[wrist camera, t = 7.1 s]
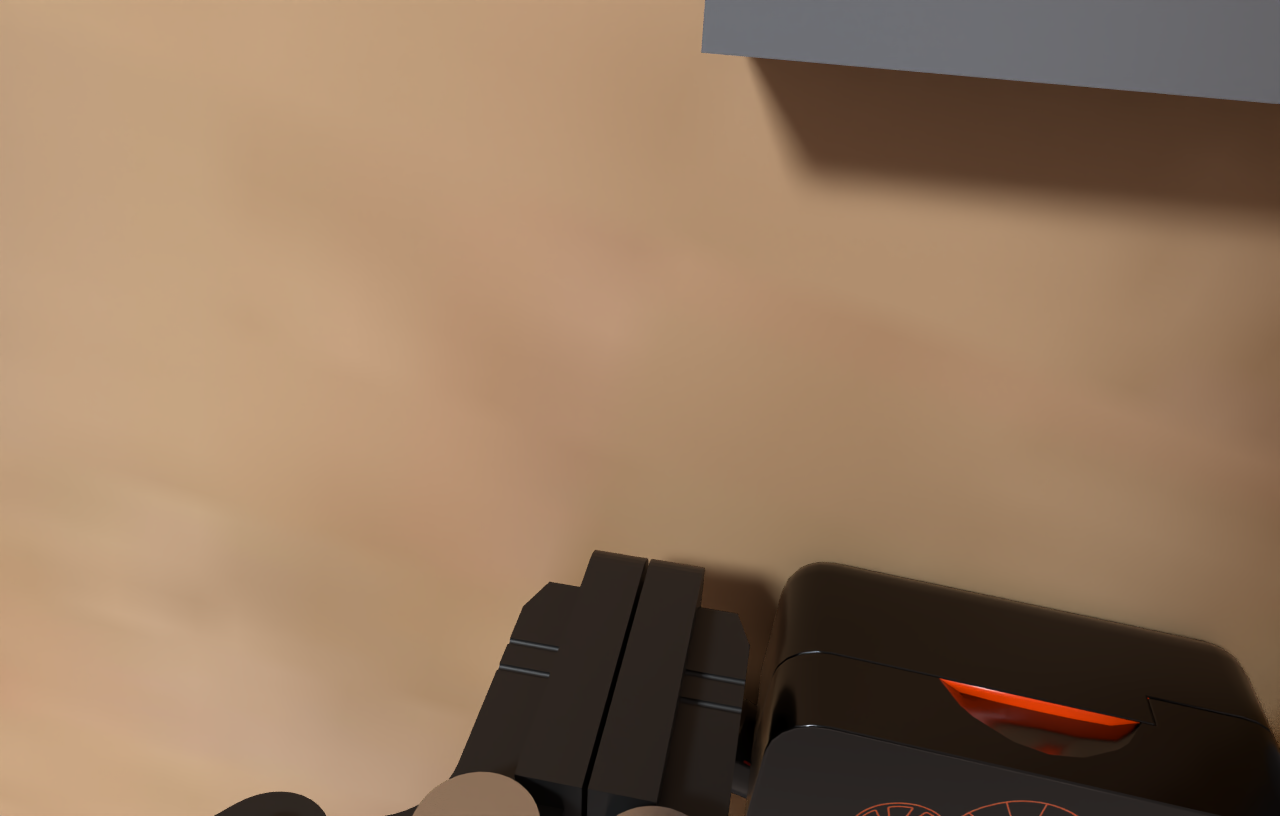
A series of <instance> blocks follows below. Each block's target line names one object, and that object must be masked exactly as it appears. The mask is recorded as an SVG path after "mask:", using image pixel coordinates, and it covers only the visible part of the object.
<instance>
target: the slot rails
mask: <svg viewBox="0 0 1280 816" xmlns="http://www.w3.org/2000/svg"><path fill="white" fill-rule="evenodd" d="M701 53H712V54H723V55H734V56H746V57H757V58H768V59H779V60H791V61H802V62H813V63H824V64H835V65H847V66H858V67H869V68H880V69H892V70H903V71H914V72H925V73H936V74H948V75H959V76H970V77H981V78H992V79H1004V80H1015V81H1026V82H1037V83H1049V84H1060V85H1071V86H1082V87H1093V88H1105V89H1116V90H1127V91H1138V92H1149V93H1161V94H1172V95H1183V96H1194V97H1206V98H1217V99H1228V100H1239V101H1250V102H1262V103H1273V104H1280V0H705V10H704V23H703V37H702V50H701Z"/></svg>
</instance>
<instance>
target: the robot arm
mask: <svg viewBox="0 0 1280 816" xmlns="http://www.w3.org/2000/svg"><path fill="white" fill-rule="evenodd" d="M704 572H705V568H703V567H697V566H691V565H685V564H679V563H673V562H667V561H661V560H655V559H651V561H650V563H648V559H647V558H641V557H635V556H629V555H623V554H617V553H611V552H605V551H599V550H595V551H594V552H593V554H592V556H591V558H590V561H589V564H588V567H587V570H586V572H585V575H584V578H583V581H582V584H581V587H577V586H571V585H565V584H559V583H554V582H549V583H548V584H547V585H546V586H545V587H543V588H542V589H541V590H540V591H539V592H538V593H537V594H536V595H535V596H534V597H533V598H532V599H531V600H530V601H529V602H527V603H526V604H525V605H524V606H523V608H522V611H521V613H520V615H519V618H518V620H517V623H516V625H515V627H514V630H513V632H512V635H511V637H510V643H509V644H507V647H506V649H505V652H504V654H503V656H502V659H501V661H500V666H499V669H498V670H497V671H496V673H495V676H494V678H493V681H492V683H491V685H490V688H489V690H488V693H487V695H486V698H485V700H484V702H483V705H482V707H481V710H480V712H479V714H478V717H477V719H476V722H475V724H474V727H473V729H472V731H471V734H470V736H469V739H468V741H467V743H466V746H465V748H464V751H463V753H462V756H461V758H460V760H459V763H458V765H457V767H456V769H455V771H454V773H453V774H452V775H451V777H450V778H449V780H446V781H445V782H443V783H441V784H440V785H438V786H437V787H435V788H434V789H433V790H432V791H431V792H429V793H428V794H427V795H426V797H425V798H424V799H423V800H422V801H421V802H420V804H419V805H417V806H415V807H413V808H410V809H408V810H406V811H403V812H399V813H396V814H393V815H387V816H728V812H729V805H730V797H731V789H732V781H733V773H734V766H735V758H736V750H737V742H738V734H739V727H740V719H741V711H742V703H743V695H744V688H745V680H746V672H747V664H748V656H749V649H750V645H749V642H748V640H747V637H746V635H745V632H744V629H743V627H742V624H741V621H740V619H739V616H738V614H736V613H730V612H724V611H719V610H713V609H707V608H701V600H702V591H703V582H704ZM215 816H326V815H325V813H324V811H323V810H322V809H321V808H320V807H319V805H317V804H316V803H315V802H313V801H312V800H311V799H309V798H307V797H305V796H302V795H299V794H295V793H291V792H269V793H264V794H259V795H255V796H253V797H250V798H247V799H244V800H242V801H240V802H238V803H236V804H234V805H233V806H231V807H229V808H227V809H225V810H224V811H222V812H220V813H218V814H217V815H215Z"/></svg>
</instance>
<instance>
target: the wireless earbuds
mask: <svg viewBox="0 0 1280 816" xmlns="http://www.w3.org/2000/svg"><path fill="white" fill-rule="evenodd" d="M731 793H734V794H736V795H739V796H741V797H744V798H746V799H747V800H746V809H745V816H1280V748H1279V746H1278V744H1277V742H1276V739H1275V737H1274V735H1273V732H1272V730H1271V728H1270V726H1269V723H1268V721H1267V719H1266V716H1265V714H1264V712H1263V710H1262V707H1261V705H1260V703H1259V700H1258V698H1257V696H1256V694H1255V691H1254V689H1253V687H1252V684H1251V682H1250V680H1249V678H1248V676H1247V675H1246V673H1245V671H1244V670H1243V668H1242V667H1241V665H1240V664H1239V663H1238V661H1237V660H1236V658H1234V657H1233V656H1232V655H1230V654H1229V653H1228V652H1226V651H1225V650H1223V649H1222V648H1220V647H1219V646H1216V645H1213V644H1211V643H1208V642H1205V641H1201V640H1196V639H1191V638H1186V637H1182V636H1177V635H1172V634H1168V633H1163V632H1158V631H1153V630H1149V629H1144V628H1139V627H1134V626H1130V625H1125V624H1120V623H1116V622H1111V621H1106V620H1101V619H1097V618H1092V617H1087V616H1083V615H1078V614H1073V613H1068V612H1064V611H1059V610H1054V609H1049V608H1045V607H1040V606H1035V605H1031V604H1026V603H1021V602H1016V601H1012V600H1007V599H1002V598H997V597H993V596H988V595H983V594H979V593H974V592H969V591H964V590H960V589H955V588H950V587H945V586H941V585H936V584H931V583H927V582H922V581H917V580H912V579H908V578H903V577H898V576H893V575H889V574H884V573H879V572H875V571H870V570H865V569H860V568H856V567H851V566H846V565H841V564H837V563H829V562H817V563H812V564H808V565H806V566H803V567H801V568H800V569H799V570H797V571H796V572H795V573H794V574H793V575H792V576H791V577H790V578H789V579H788V581H787V583H786V584H785V586H784V588H783V591H782V594H781V597H780V600H779V604H778V608H777V612H776V615H775V619H774V623H773V627H772V631H771V634H770V638H769V642H768V646H767V650H766V653H765V657H764V661H763V665H762V668H761V676H760V686H759V695H758V704H757V706H756V705H755V704H753V703H751V702H750V701H748V700H747V699H746V700H743V703H742V711H741V719H740V727H739V734H738V742H737V750H736V758H735V766H734V773H733V781H732V789H731Z"/></svg>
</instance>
